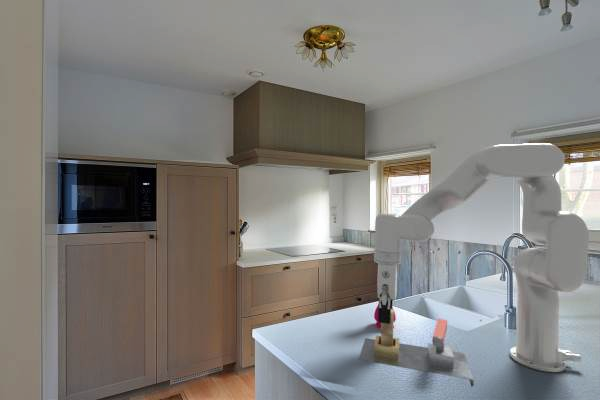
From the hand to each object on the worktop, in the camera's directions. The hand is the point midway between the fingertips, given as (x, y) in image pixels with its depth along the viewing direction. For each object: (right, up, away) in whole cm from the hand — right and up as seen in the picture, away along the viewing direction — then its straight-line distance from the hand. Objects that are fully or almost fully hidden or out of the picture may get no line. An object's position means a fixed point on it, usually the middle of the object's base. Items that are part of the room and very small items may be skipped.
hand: (385, 316), depth 91 cm
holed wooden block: (0, -10, 0) cm, 10 cm away
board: (+7, -12, -2) cm, 14 cm away
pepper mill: (+5, -12, +19) cm, 22 cm away
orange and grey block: (+13, -7, -5) cm, 16 cm away
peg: (0, -10, 0) cm, 10 cm away
